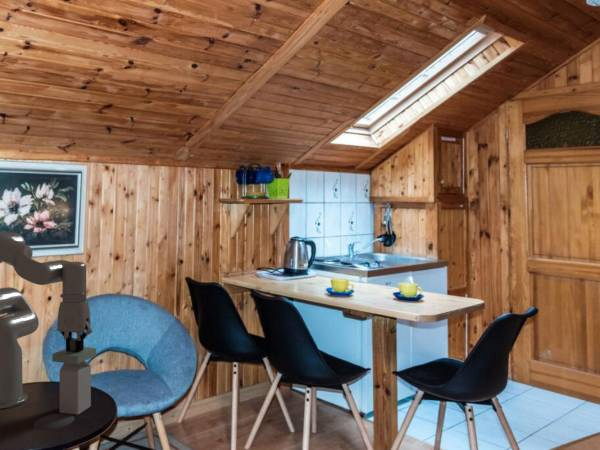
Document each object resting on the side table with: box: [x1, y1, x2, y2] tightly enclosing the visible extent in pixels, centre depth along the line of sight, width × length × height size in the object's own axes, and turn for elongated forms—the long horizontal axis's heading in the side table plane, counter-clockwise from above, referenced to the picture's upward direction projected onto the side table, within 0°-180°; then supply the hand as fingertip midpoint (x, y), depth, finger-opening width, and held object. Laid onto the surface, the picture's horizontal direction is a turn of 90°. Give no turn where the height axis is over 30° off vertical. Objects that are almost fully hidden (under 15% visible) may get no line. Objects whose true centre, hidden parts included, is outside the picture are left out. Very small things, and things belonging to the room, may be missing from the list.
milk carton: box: [59, 360, 92, 415], centre depth 168 cm, size 7×7×19 cm
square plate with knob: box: [51, 337, 97, 364], centre depth 167 cm, size 10×10×7 cm
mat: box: [33, 412, 75, 431], centre depth 159 cm, size 12×12×1 cm
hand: (74, 350), depth 167 cm, fingers closed on square plate with knob, 3 cm apart
